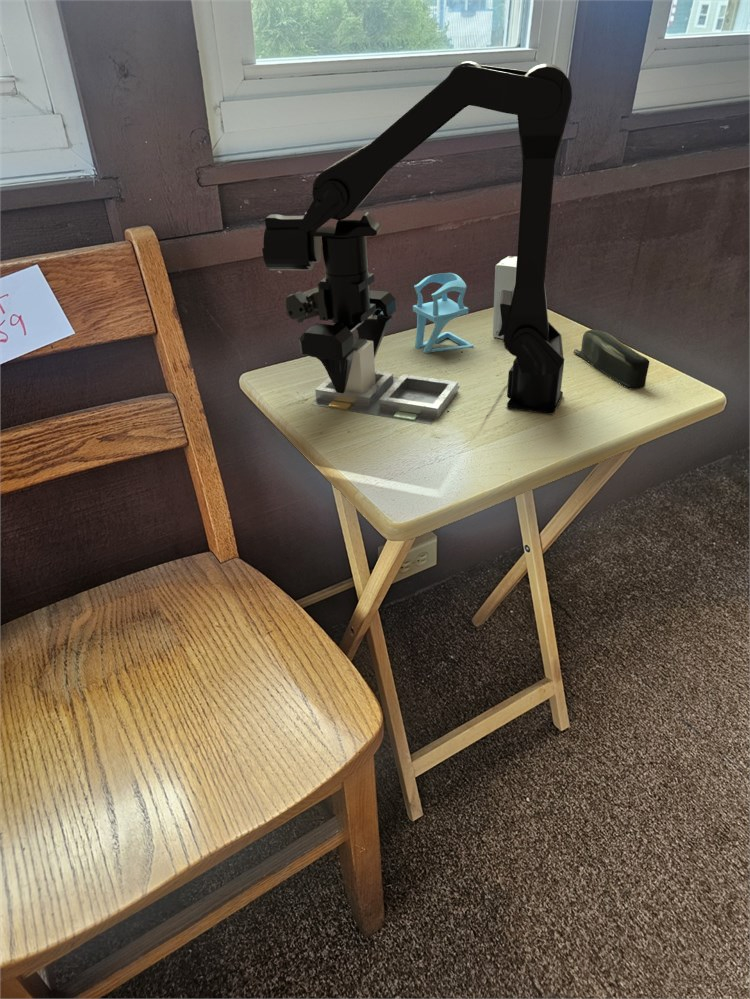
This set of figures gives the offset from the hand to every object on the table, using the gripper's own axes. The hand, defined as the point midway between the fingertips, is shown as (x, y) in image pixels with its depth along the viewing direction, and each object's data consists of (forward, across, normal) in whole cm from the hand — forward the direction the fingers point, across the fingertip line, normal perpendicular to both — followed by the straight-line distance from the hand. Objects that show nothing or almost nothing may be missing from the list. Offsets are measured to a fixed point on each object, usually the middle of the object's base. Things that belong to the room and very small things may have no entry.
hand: (354, 379), depth 97 cm
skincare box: (+3, -30, +15) cm, 34 cm away
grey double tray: (+3, 0, +5) cm, 6 cm away
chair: (+3, -20, +6) cm, 21 cm away
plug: (+2, 0, 0) cm, 2 cm away
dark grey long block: (+3, -20, +33) cm, 38 cm away
